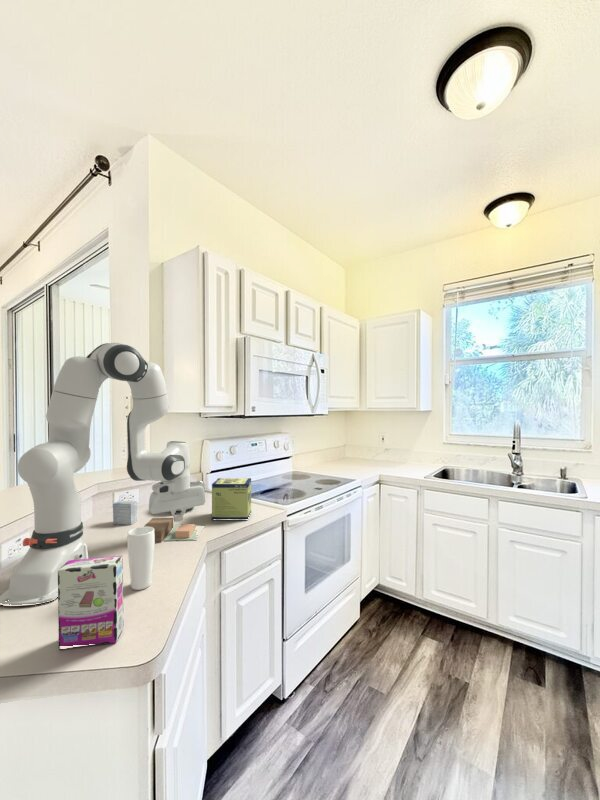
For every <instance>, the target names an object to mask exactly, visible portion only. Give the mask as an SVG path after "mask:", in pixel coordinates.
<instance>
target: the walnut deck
mask: <svg viewBox="0 0 600 800" xmlns="http://www.w3.org/2000/svg"><path fill="white" fill-rule="evenodd" d="M145 526H148V527H153V528H154V532H155V543H162V542H163V541H164V540H165V538H166V537H167V536H168V535H169V534H170V532H171V531H172V530H173V529H174V517H153V518H151V519H150V520H149V521H148V522H147V523H146V524H144V525H143V527H145ZM172 528H173V529H172Z"/></svg>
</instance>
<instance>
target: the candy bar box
mask: <svg viewBox="0 0 600 800" xmlns="http://www.w3.org/2000/svg"><path fill="white" fill-rule="evenodd" d="M123 557H124V556H123V555H113V556H103V557H91V558H90V557H89V558H88V559H79V560H69V561H67V562H66V563H65V564H64V565H63V566H62V567H61V568H60V569H59V570H58V598H57V605H58V606H57V611H58V613H57V615H58V618H57V619H58V647H59V646H73V645H89V644H102V645H106V644H105V643H109V644H115V643H117V642H118V640H119V638H120V636H121V634H122V633H123V630H124V577H123V576H124V574H123V573H124V571H123V569H124V566H123V564H124V563H123V562H124V561H123V560H124V559H123Z"/></svg>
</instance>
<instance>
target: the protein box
mask: <svg viewBox="0 0 600 800" xmlns="http://www.w3.org/2000/svg"><path fill="white" fill-rule="evenodd" d="M250 513H252V478H250V477H245V478H244V477H243V478H242V477H241V478H240V477H239V478H238V477H237V478H234V477H233V478H231V477H230V478H229V477H227V478H225V477H224V478H222V477H221V478H220V477H219V478H217V479H216V480H215V481H214V482H213V483H211V520H212V519H248V517H249V518H250V516H251V514H250ZM249 515H250V516H249ZM248 520H249V519H248Z"/></svg>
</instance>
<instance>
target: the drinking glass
mask: <svg viewBox="0 0 600 800" xmlns="http://www.w3.org/2000/svg"><path fill="white" fill-rule="evenodd" d="M144 526H145V525H144ZM144 526H139V527H134V528H132V529H130V530H129V531H128V532H127V540H126V541H127V542H126V543H127V544H126V545H127V546H126V547H127V555H128V556H127V558H128V565H129V566H128V567H129V568H128V569H129V578H130V588H131V589H132V590H135V591H141V590H144V589H147V588H149V587H150V586H151V585H152V584H153V583H152V582H153V571H154V570H153V568H154V559H155V558H154V557H155V556H154V555H155V532H154V528H153V527H148V526H145V527H144Z"/></svg>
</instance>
